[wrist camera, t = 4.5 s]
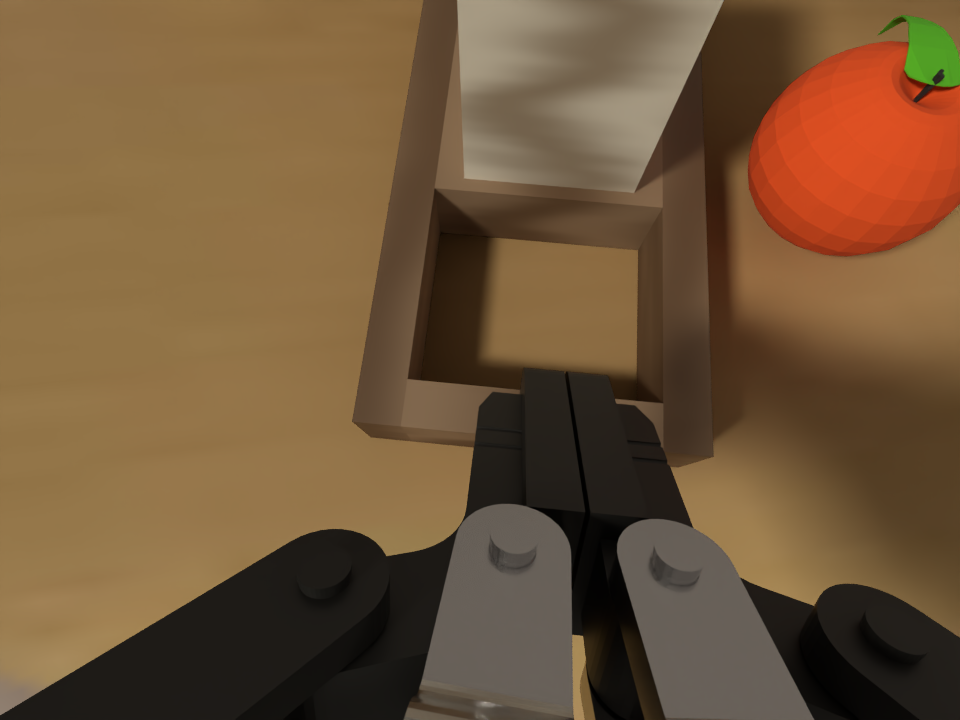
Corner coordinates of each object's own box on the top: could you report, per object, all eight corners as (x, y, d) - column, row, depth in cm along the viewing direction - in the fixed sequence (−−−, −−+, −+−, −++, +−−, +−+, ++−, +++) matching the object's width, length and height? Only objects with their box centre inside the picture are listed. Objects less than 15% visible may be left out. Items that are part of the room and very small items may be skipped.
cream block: (464, 178, 19) (455, -54, 11) (480, 46, 21) (482, -232, 13) (634, 193, 19) (739, -33, 11) (635, 58, 21) (728, -215, 13)
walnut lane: (370, 437, 19) (352, 421, 17) (459, -126, 28) (457, -200, 25) (678, 467, 19) (713, 456, 16) (671, -111, 28) (693, -184, 25)
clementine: (725, 108, 24) (824, -59, 17) (886, 136, 23) (1054, -24, 17) (709, 268, 21) (816, 149, 15) (887, 303, 21) (1082, 197, 14)
